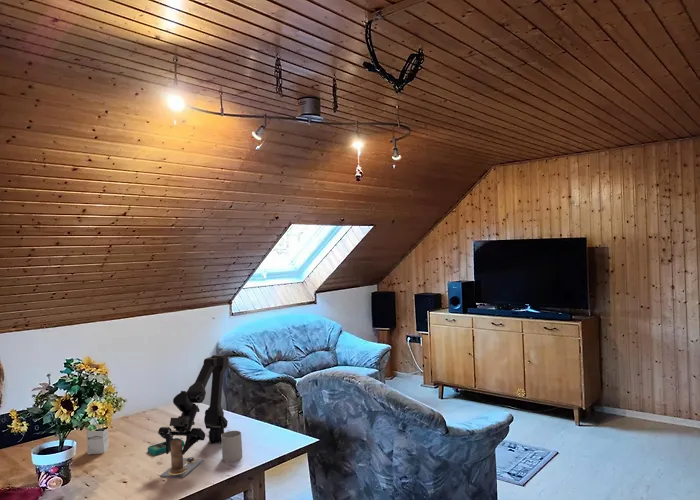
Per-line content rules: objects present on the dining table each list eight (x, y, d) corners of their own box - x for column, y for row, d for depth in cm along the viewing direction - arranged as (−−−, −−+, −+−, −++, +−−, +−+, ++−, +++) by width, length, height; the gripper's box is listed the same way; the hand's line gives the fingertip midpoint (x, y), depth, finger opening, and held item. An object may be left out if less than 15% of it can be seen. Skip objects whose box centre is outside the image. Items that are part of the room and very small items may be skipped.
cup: (224, 463, 220) (223, 439, 219) (220, 456, 227) (218, 433, 227) (244, 458, 223) (243, 434, 223) (239, 452, 231) (238, 429, 231)
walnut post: (182, 466, 217) (181, 437, 216) (186, 471, 212) (185, 441, 212) (168, 470, 213) (167, 440, 213) (172, 475, 209) (171, 444, 209)
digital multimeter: (185, 446, 242) (185, 439, 242) (154, 456, 231) (154, 450, 231) (178, 442, 247) (177, 436, 247) (147, 452, 236) (146, 446, 236)
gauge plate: (183, 459, 226) (182, 455, 226) (204, 460, 224) (204, 456, 224) (160, 476, 209) (159, 472, 209) (182, 478, 207) (182, 474, 207)
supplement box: (86, 455, 236) (85, 427, 236) (92, 449, 243) (90, 421, 243) (104, 453, 237) (102, 425, 237) (109, 447, 244) (107, 420, 244)
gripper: (159, 407, 218) (144, 444, 208) (200, 408, 214) (187, 446, 203) (170, 420, 226) (157, 456, 215) (210, 421, 222) (199, 458, 211)
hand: (174, 454), depth 211 cm, fingers open, 7 cm apart
